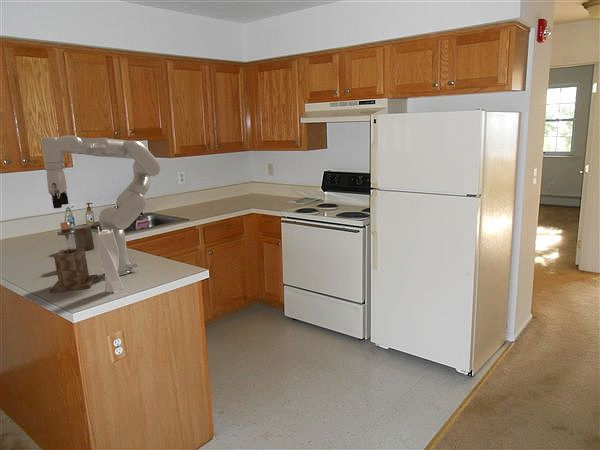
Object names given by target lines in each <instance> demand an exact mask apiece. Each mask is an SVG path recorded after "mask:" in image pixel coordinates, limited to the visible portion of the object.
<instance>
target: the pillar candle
mask: <svg viewBox="0 0 600 450" xmlns="http://www.w3.org/2000/svg"><path fill="white" fill-rule="evenodd" d="M72 230H75V233H73V238H74V245H75V248H85V252H86V251H91V250H93V249H95V244H94V236H93V230H92V226H91V224H81V225H77V226H74V227H72Z"/></svg>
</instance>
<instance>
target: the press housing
mask: <svg viewBox="0 0 600 450" xmlns="http://www.w3.org/2000/svg"><path fill="white" fill-rule="evenodd" d="M71 252H72V253H68V250H67V248H66V249H60V250H59V251H58V252H57V253H56V254H54V255H53V258H54V259H53V260H54V264H55V270H56V276H57V281H56V283H54V285H53V286H52V287H51V288H50V289H49V291H50V293H58V292H60V293H61V292H67V291H70V292H71V291H77V290H86V289H87V290H88V289H91V288H92V286H93V285H94V283H95V282H96V280H97V279H98V278H99V277H98V274H96V273H95V274H89V268H88V261H87V255H86V251H85V248H76V247H75V248H71Z"/></svg>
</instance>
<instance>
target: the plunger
mask: <svg viewBox="0 0 600 450" xmlns="http://www.w3.org/2000/svg"><path fill="white" fill-rule="evenodd" d="M59 225H60V229H61V230H59V231H58V232H57V236H65V242H66V243H65V244H66V249H67V250H68V253H72V252H71V249H72V248H71V242H70V237H69V235H74V233H75V230H73V229H71V224H70V221H62V222H60V223H59Z"/></svg>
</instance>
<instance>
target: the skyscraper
mask: <svg viewBox="0 0 600 450" xmlns="http://www.w3.org/2000/svg"><path fill="white" fill-rule="evenodd" d="M111 230H112V231H109V230H102V229H101V231H100V227H99V226H97V232H98V233H97V235H98V236H97V238H98V240H97V246H98V247H97V248H98V256H99V260H100V264H101V267H102V270H103V272H104V276H105V277H104V293H112V292H113V294H116V293H117V292H119V291H122V290H125V289H124V285H123V282H122V280H121V278H120V276H119V274H118V265H119V252H118V246H117V243H116V239H115V236H114V233H113V229H111Z"/></svg>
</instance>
